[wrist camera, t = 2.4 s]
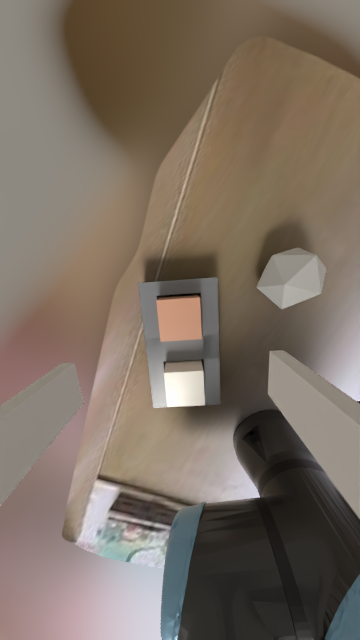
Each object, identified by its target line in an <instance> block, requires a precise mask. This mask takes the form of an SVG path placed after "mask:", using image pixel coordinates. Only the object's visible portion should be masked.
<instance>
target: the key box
mask: <svg viewBox="0 0 360 640" xmlns="http://www.w3.org/2000/svg"><path fill="white" fill-rule="evenodd" d="M138 287H139V295H140V303H141V312H142V320H143V328H144V336H145V344H146V352H147V360H148V368H149V376H150V384H151V392H152V401H153V408H161V407H167V400H166V390H165V381H164V369H165V365H166V361H182V360H199V359H202V366H203V372H204V394H205V405H221V403H220V359H219V315H218V277H213V278H200V279H186V280H172V281H159V282H145V283H138ZM188 293H198V294H199V297H200V306H201V328H202V339H197V340H181V341H164V342H160V332H159V322H158V313H157V303H156V300H157V299H159V298H160V297H161V295H174V294H188ZM200 406H203V405H200ZM179 407H182V406H179Z"/></svg>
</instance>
